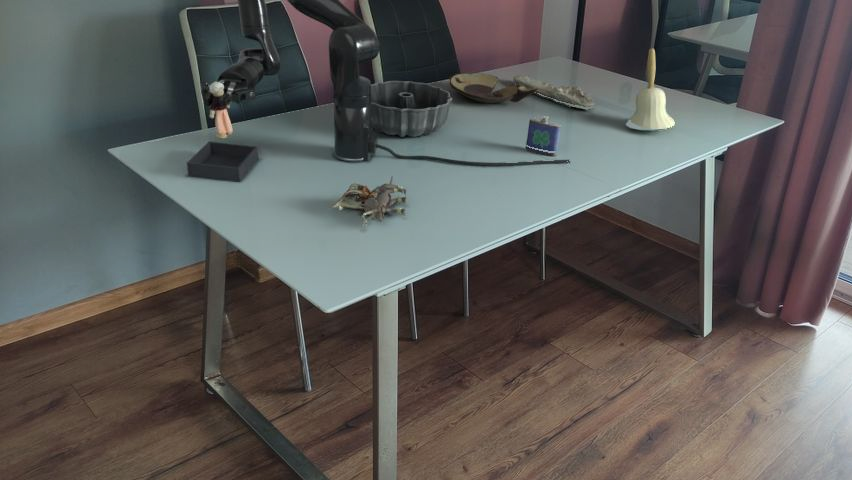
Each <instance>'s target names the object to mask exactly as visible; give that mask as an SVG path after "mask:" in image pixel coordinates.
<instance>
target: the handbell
mask: <svg viewBox="0 0 852 480" xmlns="http://www.w3.org/2000/svg"><path fill="white" fill-rule="evenodd" d="M656 61H657V60H656V51H655V48H653V47H651V48H649V50H648V55H647V64H646V65H647V66H646V69H647V70H646V71H647V73H646V74H647V82H648V86H647V87H644V88H642V89H640V90H639V91H638V93H637V94H636V97H635V111H634V113H633V114H632V115H631V117H629V119H630V120H631V122H632V123H634V124H636V125H638V126H641V127H645V128H651V129H665V130H668V129H667V128H669V129H671V128H673V127H674V126H675V123H676V122H675V120H674V119H673V118H672V117H671V116H670V115H669V113H667V110H666V103H667V102H666V101H667V100H666V93H665V91H664V90H663V89H661V88H659V87H656V86H654V85H655V77H656V72H657V71H656V68H657V67H656ZM672 126H673V127H672ZM670 127H671V128H670Z"/></svg>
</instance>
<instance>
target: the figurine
mask: <svg viewBox="0 0 852 480" xmlns="http://www.w3.org/2000/svg"><path fill="white" fill-rule="evenodd" d="M393 178H394V177H393V175H392V176H391V177H390V181H389V183H383V184H381V185H378V186H376V187H375V188H373V189H372V190H371V189H370V188H368V185H363V184H358V183H351V184H350V185H349V188H348V189H347V190H346V191H345V192H344V193H343V194H342V195H341V197H340V198H339V199H338V200H337V201H335V202H334V203H333V204H332V205H331V206H329V210H331V209H336V208H337V209H338V211H342V210H344V208H347V209H350V210H351V209H352V210H356V211H359V210H361V211H360V214H362V212H363V211H364V212H363V214H362V218H363V219H364V220H363V222H362V228H366V227H367V226H368V224H367V223H368V222H369V221H370V220H371V219H374V220H377V221H379V222H383V221H385V214H390V213H392V214H394V213H398V214H402V215H403V216H406V208H402V207H399V208H391V206H393V205H395V204H397V203H398V204H401V203H404V204H405V205H406V204H407V188H403V186H401V185H396V184H393ZM398 193H401V194H403V195H404V196H398V197H396V198H395V197H394V198H392V195H391V194H398ZM367 215H368V217H367V218H365V216H367Z"/></svg>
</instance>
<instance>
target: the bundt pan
mask: <svg viewBox="0 0 852 480" xmlns="http://www.w3.org/2000/svg"><path fill="white" fill-rule="evenodd" d="M452 101H453V97H451V93H450V92H449V91H447V90H445V89H442V87H440V86H434V85H432V84H429V83H425V82H415V81H411V80H408V81H407V80H405V81H402V80H388V81H381V82H380V81H376V82H375V83H371V119H372V128H373V129H374V131H376V132H379V133H385V135H386V134H387V135H390V136H395V135H398V136H400V138H404V137H406V136H409V137H411V138H412V137H413V138H415V137H419V136H423V137H426V136H429V135H430V134H431V133H432V134H433V133H435V132H437V131H438V130H440V129H441V128H442V126H444V125H445V123H446V122H447V120H448V115H449V111H450V108H451V107H450V106H451V102H452Z"/></svg>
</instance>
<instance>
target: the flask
mask: <svg viewBox="0 0 852 480" xmlns="http://www.w3.org/2000/svg"><path fill="white" fill-rule="evenodd" d="M549 119H550V117H549V115H543V116H542V118H538V117H535V118H534V117H533V118H529V121H528V129H527V136H526V143H525V151H527V152H531V153H534V154H540V155H543V156H548V157H557V155H558V150H559V149H558V148H559V141H560V135H561V129H562V126H561V123H560V124H559V123H555V122H550V121H548V120H549ZM526 145H528V146H530V147H534V148H538V149H543V150H548V151H557V153H548V152H543V151H539V150H535V149H532V148H529V147H527V146H526Z"/></svg>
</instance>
